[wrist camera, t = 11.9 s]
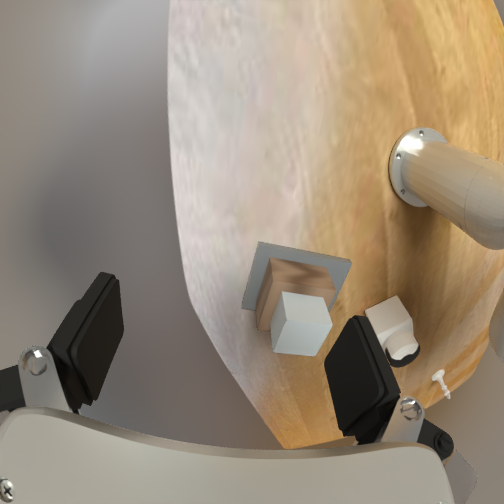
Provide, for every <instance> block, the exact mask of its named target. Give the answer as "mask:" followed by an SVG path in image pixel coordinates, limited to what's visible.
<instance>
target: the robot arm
mask: <svg viewBox="0 0 504 504" xmlns="http://www.w3.org/2000/svg"><path fill="white" fill-rule="evenodd" d="M396 154H397V156H396ZM389 173H390V179H391V183H392V186H393V188H394V190H395V192H396V193H397V194H398V196H399V197H400V198H401V199H402V200H404V201H405V202H407V203H408V204H410V205H412V206H415V207H427V206H430V207H431V208H433V209H434V210H436V211H437V212H438V213H440V214H441V215H443V216H444V217H445V218H447V219H448V220H449V221H451V222H452V223H453V224H455V225H456V226H457V227H459V228H460V229H461V230H463V231H464V232H465V233H466V234H468V235H469V236H470V237H471V238H473V239H474V240H475V241H476V242H478V243H479V244H480V245H482V246H484V247H486V248H488V249H492V250H501V249H504V164H502V163H500V162H497V161H495V160H492V159H490V158H487V157H485V156H482V155H480V154H477V153H474V152H471V151H469V150H466V149H463V148H460V147H457V146H454V145H451V144H448V142H447V140H446V139H445V138H444V137H443V136H442V135H441V134H440V133H439V132H437V131H435V130H433V129H431V128H427V127H416V128H412V129H410V130H408V131H406V132H405V133H404V134H403V135H402V136H401V137H400V138H399V139H398V140H397V142H396V144H395V146H394V147H393V150H392V153H391V157H390V162H389ZM123 332H124V325H123V317H122V308H121V298H120V286H119V280H118V279H116V277H115V275H113V274H109V273H104V272H100V273H99V275H98V276H97V277H96V279H95V280H94V282H93V283H92V284H91V286H90V287H89V289H88V290H87V291H86V293H85V294H84V296H83V297H82V299H81V300H78V301H76V302H75V303H74V305H73V307H72V308H71V309H70V311H69V312H68V314H67V315H66V317H65V319H64V320H63V322H62V323H61V325H60V326H59V328H58V330H57V331H56V333H55V334H54V336H53V338H52V339H51V341H50V343H49V345H48V346H47V348H44V347H42V346H32V347H29V348H27V349H26V350H24V351H23V352H22V354H21V355H20V357H19V360H18V365H16V366H12V367H9V368H6V369H3V370H0V504H465V503H466V501H467V499H468V498H469V496H470V495H471V493H472V491H473V490H474V488H475V486H476V484H477V479H478V477H477V473H476V472H475V470H474V469H473V468H472V467H471V466H470V464H469V463H468V462H467V461H466V460H465V459H464V458H463V457H462V455H461V454H460V453H459V452H458V451H457V450H455V451H453V448H454V444H453V440H452V438H451V437H450V435H449V434H447V433H446V432H445V431H443V430H441V429H440V428H438V427H437V426H435V425H434V424H432V423H430V422H429V421H427V420H426V419H424V408H423V406H422V404H421V403H420V402H419V400H417V399H416V398H415V397H412V396H407V395H406V396H402V397H401V398H400V395H399V394H400V393H401V391H400V388H399V386H398V384H397V381H396V379H395V376H394V374H393V372H392V369H391V367H390V365H389V362H388V360H387V358H386V355H385V353H384V351H383V349H382V346H381V344H380V342H379V340H378V338H377V335H376V333H375V331H374V329H373V327H372V325H371V323H370V321H369V319H368V317H366V316H357V315H355V316H353V317H352V318H350V319H349V320H348V321H347V323H346V325H345V326H344V328H343V330H342V332H341V333H340V335H339V337H338V339H337V340H336V342H335V344H334V345H333V347H332V349H331V350H330V352H329V354H328V355H327V357H326V359H325V362H324V367H325V371H326V375H327V379H328V383H329V388H330V392H331V396H332V400H333V405H334V409H335V414H336V418H337V423H338V427H339V429H340V430H341V431H342V433H343V437H345V436H354V435H355V437H356V441H355V442H354V444H353V446H347V447H338V448H326V449H311V450H252V449H236V448H225V447H215V446H207V445H200V444H192V443H186V442H181V441H175V440H170V439H164V438H159V437H155V436H151V435H147V434H142V433H138V432H135V431H131V430H127V429H123V428H119V427H116V426H112V425H109V424H106V423H103V422H100V421H97V420H94V419H90V418H87V417H84V416H82V415H81V413H80V411H79V409H80V408H81V405H82V403H84V404H87V405H89V406H91V404H92V402H93V400H95V401H96V400H97V399H98V396H99V394H100V391H101V388H102V386H103V383H104V380H105V378H106V375H107V373H108V370H109V368H110V365H111V362H112V360H113V357H114V355H115V353H116V350H117V348H118V345H119V343H120V341H121V338H122V336H123ZM489 340H490V343H491V346H492V348H493V350H494V352H495V353H496V355H497V356H498V357H499V358H500V359H501V361H502V362H504V289H503V291H502V293H501V296H500V298H499V300H498V303H497V305H496V307H495V310H494V312H493V315H492V317H491V321H490V325H489Z"/></svg>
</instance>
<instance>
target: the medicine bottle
mask: <svg viewBox="0 0 504 504" xmlns="http://www.w3.org/2000/svg"><path fill="white" fill-rule="evenodd" d="M365 314H366V317H368V319H369V321H370V323H371V325H372V327H373V329H374V331H375V333H376V335H377V338H378V340H379V342H380V344H381V346H382V349H383V351H384V353H385V355H386V356H387V358H388V361H389V363H390V365H391V366H393V367H403V366H405V365H407V364H409V363H411V362H412V361H413V360H414V359H415V358H416V357H417V356H418V354H419V352H420V345H419V344H418V342H417V340H416V338H415V336H414V333H413V321H412V317H411V316H410V314H409V312H408V311H407V309H406V308H405V306H404V305H403V303H402V301H401V300H400V298H399V297H398V295H395V296H393V297H391V298H389V299H387V300H385V301H383V302H381V303H379V304H377V305H375V306H372V307H370V308H368V309H366V310H365Z"/></svg>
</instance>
